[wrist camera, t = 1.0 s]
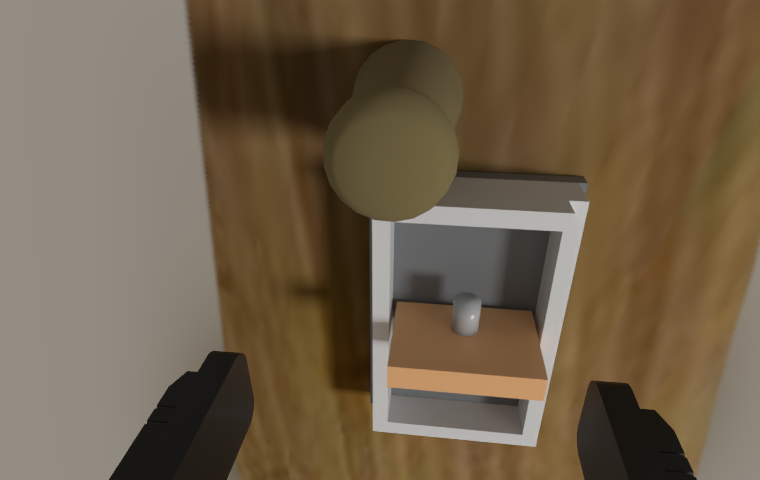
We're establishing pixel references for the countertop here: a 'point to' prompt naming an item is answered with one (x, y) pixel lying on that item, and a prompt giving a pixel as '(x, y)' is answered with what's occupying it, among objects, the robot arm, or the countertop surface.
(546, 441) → the countertop surface
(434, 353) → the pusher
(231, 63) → the countertop surface
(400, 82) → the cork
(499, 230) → the white walled tray
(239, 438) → the robot arm
